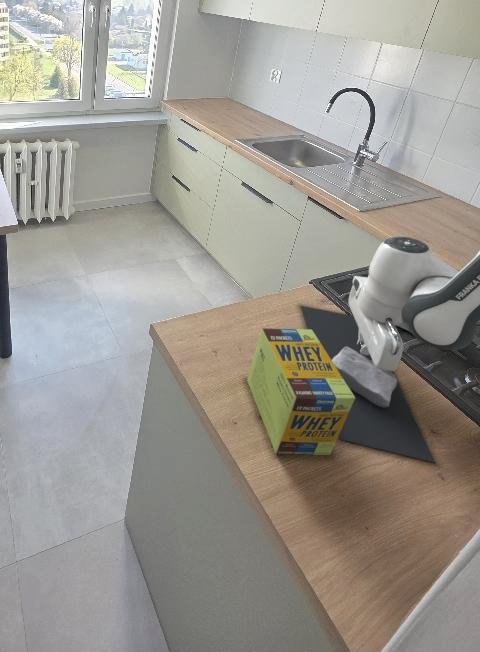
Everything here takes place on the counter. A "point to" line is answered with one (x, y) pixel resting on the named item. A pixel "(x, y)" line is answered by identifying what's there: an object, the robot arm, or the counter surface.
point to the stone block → (365, 377)
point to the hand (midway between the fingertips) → (362, 350)
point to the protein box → (298, 392)
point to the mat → (365, 417)
